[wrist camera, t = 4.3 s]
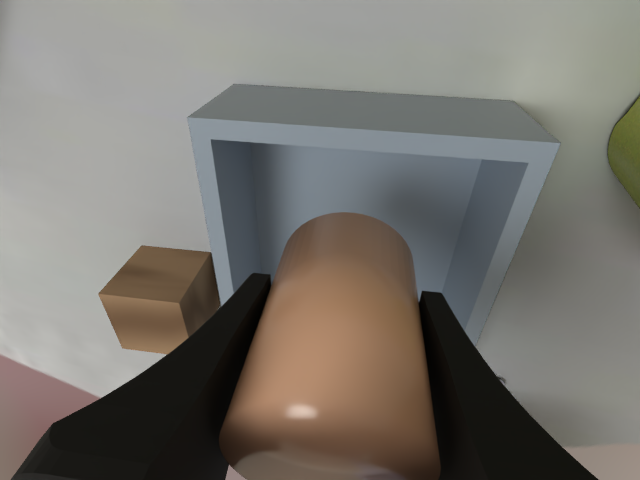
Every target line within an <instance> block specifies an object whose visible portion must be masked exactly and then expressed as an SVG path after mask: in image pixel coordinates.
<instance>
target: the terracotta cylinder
mask: <svg viewBox="0 0 640 480" xmlns="http://www.w3.org/2000/svg"><path fill="white" fill-rule="evenodd" d="M219 446H220V449H221V452H222V454H223V456H224V458H225V460H226V461H227V462H228V463H229V465H230V466H231V467H232V468H233V469H234V470H235V471H236V472H238V473H239V474H240V475H241V476H243V477H244V478H245V479H247V480H438V479H439V476H440V471H441V465H440V457H439V450H438V442H437V435H436V427H435V420H434V412H433V405H432V397H431V390H430V382H429V375H428V367H427V359H426V352H425V344H424V337H423V329H422V322H421V314H420V307H419V299H418V292H417V284H416V277H415V269H414V262H413V256H412V253H411V250H410V248H409V246H408V244H407V243H406V241H405V240H404V239H403V237H402V236H401V235H400V234H399V233H398V232H397V231H396V230H395V229H393V228H392V227H391V226H389V225H388V224H386V223H384V222H383V221H381V220H378V219H376V218H374V217H371V216H367V215H364V214H359V213H351V212H338V213H330V214H325V215H322V216H318V217H316V218H313V219H311V220H309V221H307V222H306V223H304V224H303V225H301V226H300V227H299V228H298V229H296V230H295V232H294V233H293V234H292V235H291V236H290V238H289V239H288V241H287V243H286V245H285V248H284V251H283V253H282V256H281V259H280V262H279V265H278V268H277V271H276V274H275V276H274V279H273V282H272V285H271V288H270V291H269V294H268V296H267V299H266V302H265V305H264V308H263V311H262V314H261V316H260V319H259V322H258V325H257V328H256V331H255V334H254V336H253V339H252V342H251V345H250V348H249V351H248V354H247V357H246V359H245V362H244V365H243V368H242V371H241V374H240V377H239V379H238V382H237V385H236V388H235V391H234V394H233V397H232V399H231V402H230V405H229V408H228V411H227V414H226V417H225V419H224V422H223V425H222V428H221V431H220V435H219Z"/></svg>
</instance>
